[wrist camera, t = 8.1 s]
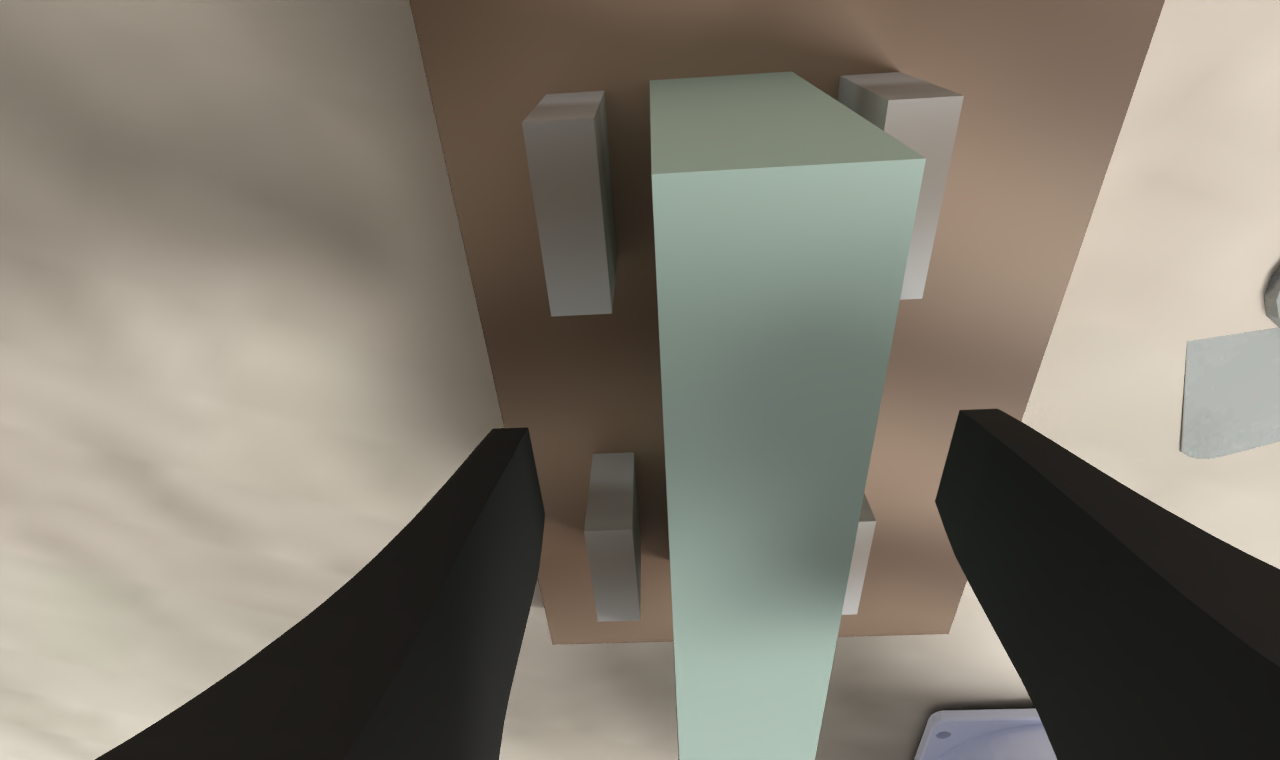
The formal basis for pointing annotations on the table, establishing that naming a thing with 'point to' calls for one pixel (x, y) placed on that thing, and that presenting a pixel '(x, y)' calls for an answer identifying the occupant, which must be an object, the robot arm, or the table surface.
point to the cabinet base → (626, 265)
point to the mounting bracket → (1233, 388)
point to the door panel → (768, 387)
